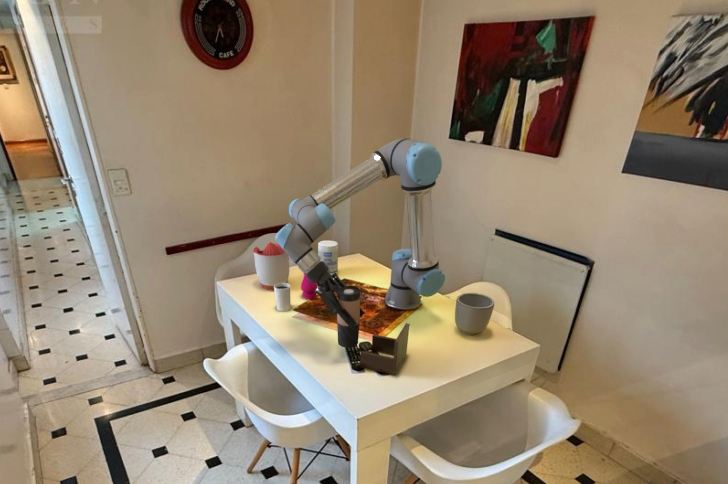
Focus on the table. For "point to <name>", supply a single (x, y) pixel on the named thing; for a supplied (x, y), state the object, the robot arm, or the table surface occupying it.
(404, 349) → the shelf rack
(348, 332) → the travel mug
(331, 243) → the supplement tub
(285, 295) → the white cup
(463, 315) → the planter
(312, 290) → the pepper mill
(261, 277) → the citrus juicer
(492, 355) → the table surface
